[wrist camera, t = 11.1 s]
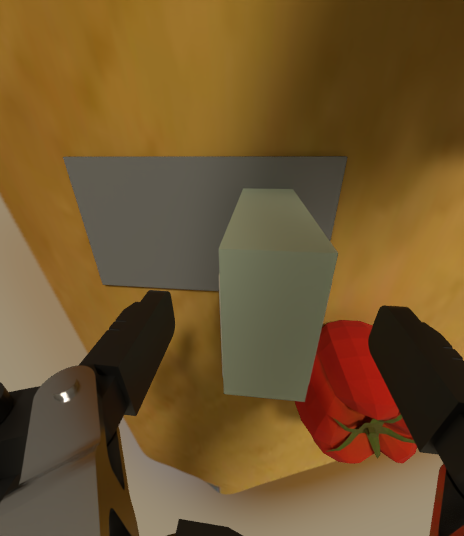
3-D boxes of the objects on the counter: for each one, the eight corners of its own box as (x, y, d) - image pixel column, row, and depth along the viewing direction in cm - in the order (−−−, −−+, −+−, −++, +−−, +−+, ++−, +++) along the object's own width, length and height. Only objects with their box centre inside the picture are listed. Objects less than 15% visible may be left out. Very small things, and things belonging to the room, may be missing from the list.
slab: (242, 188, 17) (216, 248, 7) (293, 188, 16) (340, 253, 7) (241, 273, 20) (222, 393, 10) (283, 275, 20) (305, 402, 10)
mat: (67, 156, 17) (62, 157, 17) (345, 156, 15) (347, 156, 15) (105, 282, 23) (102, 284, 22) (317, 294, 21) (318, 296, 20)
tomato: (314, 391, 27) (335, 490, 19) (267, 326, 23) (271, 416, 15) (415, 364, 23) (490, 472, 16) (380, 282, 20) (456, 371, 12)
